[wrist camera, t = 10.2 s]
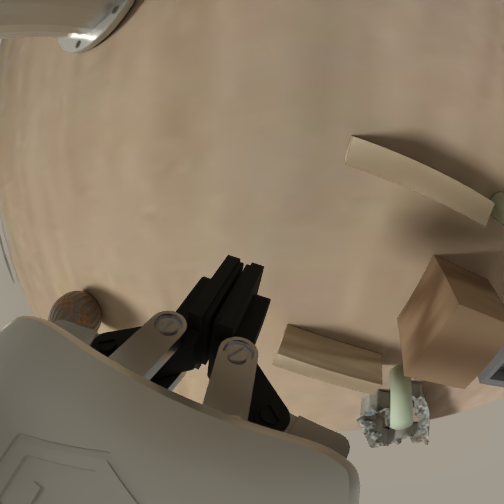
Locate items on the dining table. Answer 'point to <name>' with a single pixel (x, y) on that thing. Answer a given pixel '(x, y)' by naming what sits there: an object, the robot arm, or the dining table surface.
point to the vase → (77, 310)
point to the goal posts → (398, 382)
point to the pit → (494, 371)
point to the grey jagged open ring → (374, 424)
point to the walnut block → (450, 325)
